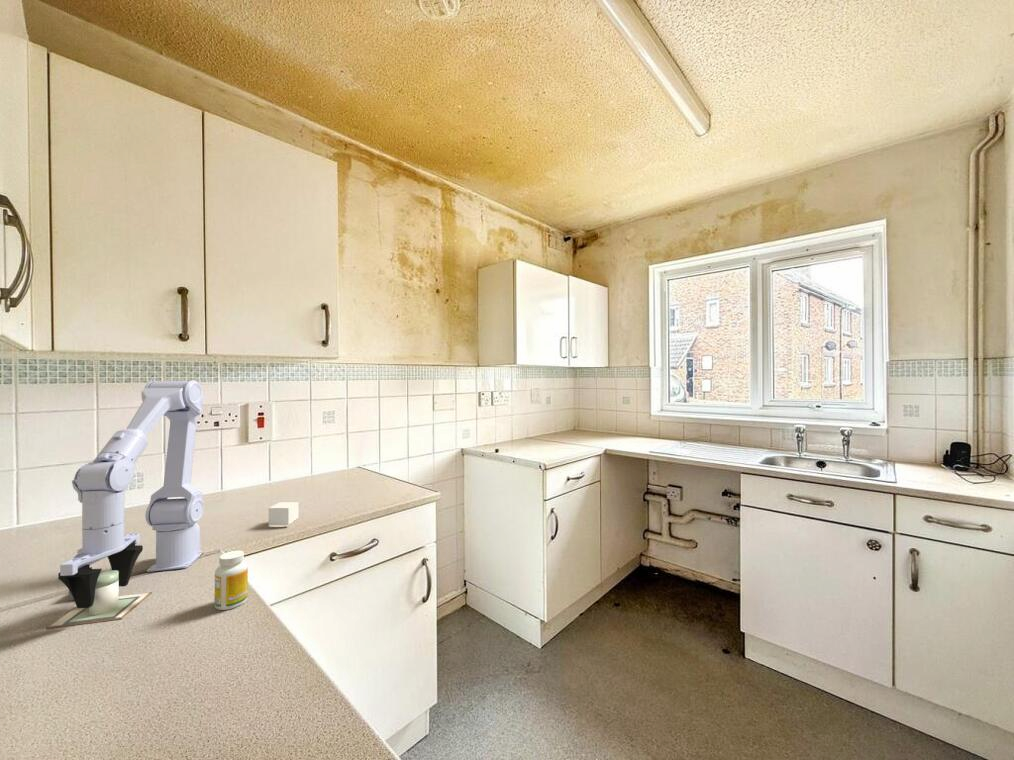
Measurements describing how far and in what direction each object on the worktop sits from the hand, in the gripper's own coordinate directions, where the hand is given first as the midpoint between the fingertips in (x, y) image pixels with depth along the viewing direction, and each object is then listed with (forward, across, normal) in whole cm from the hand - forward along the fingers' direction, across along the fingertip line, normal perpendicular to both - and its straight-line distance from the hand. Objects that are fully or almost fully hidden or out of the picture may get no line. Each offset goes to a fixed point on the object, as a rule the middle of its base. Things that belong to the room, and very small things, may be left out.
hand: (103, 595), depth 77 cm
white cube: (+3, -46, +13) cm, 48 cm away
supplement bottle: (+3, 0, +23) cm, 23 cm away
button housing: (+3, -8, -8) cm, 12 cm away
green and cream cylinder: (+2, 0, 0) cm, 3 cm away
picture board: (+3, -1, -1) cm, 3 cm away
